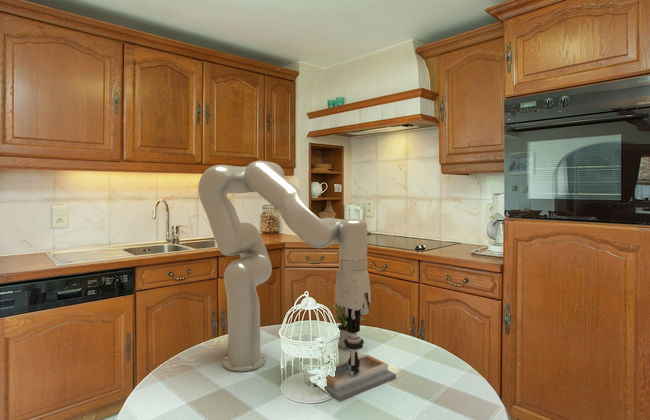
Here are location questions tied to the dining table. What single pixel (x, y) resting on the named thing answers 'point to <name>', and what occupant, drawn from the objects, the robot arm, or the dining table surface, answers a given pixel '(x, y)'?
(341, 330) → the house plant
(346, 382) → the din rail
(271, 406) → the dining table surface
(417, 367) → the dining table surface
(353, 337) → the round cylindrical fitting
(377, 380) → the panel
